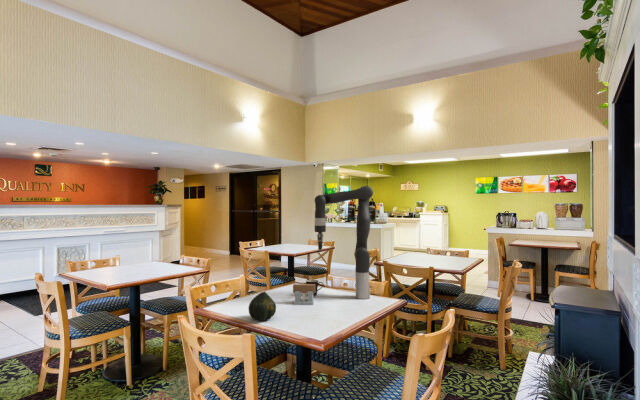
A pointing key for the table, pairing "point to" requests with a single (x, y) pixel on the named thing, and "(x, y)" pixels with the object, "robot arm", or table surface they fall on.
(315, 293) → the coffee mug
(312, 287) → the glasses bar
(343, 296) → the table surface
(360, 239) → the robot arm
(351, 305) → the table surface
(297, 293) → the display stand
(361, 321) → the table surface
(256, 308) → the squash
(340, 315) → the table surface
